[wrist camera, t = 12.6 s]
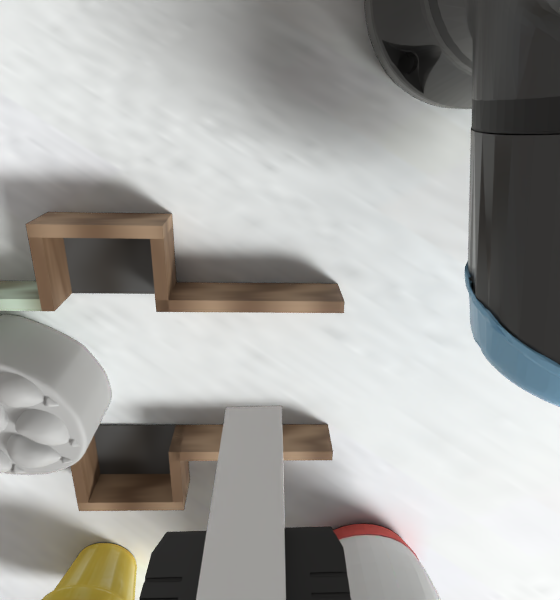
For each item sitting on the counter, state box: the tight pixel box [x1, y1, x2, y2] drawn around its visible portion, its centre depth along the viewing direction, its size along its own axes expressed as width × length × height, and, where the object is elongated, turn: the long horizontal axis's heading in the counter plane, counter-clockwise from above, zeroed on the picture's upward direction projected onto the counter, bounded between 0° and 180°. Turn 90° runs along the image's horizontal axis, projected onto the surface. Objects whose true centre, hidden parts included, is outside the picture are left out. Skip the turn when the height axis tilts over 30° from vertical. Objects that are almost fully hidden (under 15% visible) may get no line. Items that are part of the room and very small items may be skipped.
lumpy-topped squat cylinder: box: [0, 314, 112, 475], centre depth 42 cm, size 10×13×9 cm
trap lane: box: [0, 212, 344, 511], centre depth 43 cm, size 37×28×4 cm
